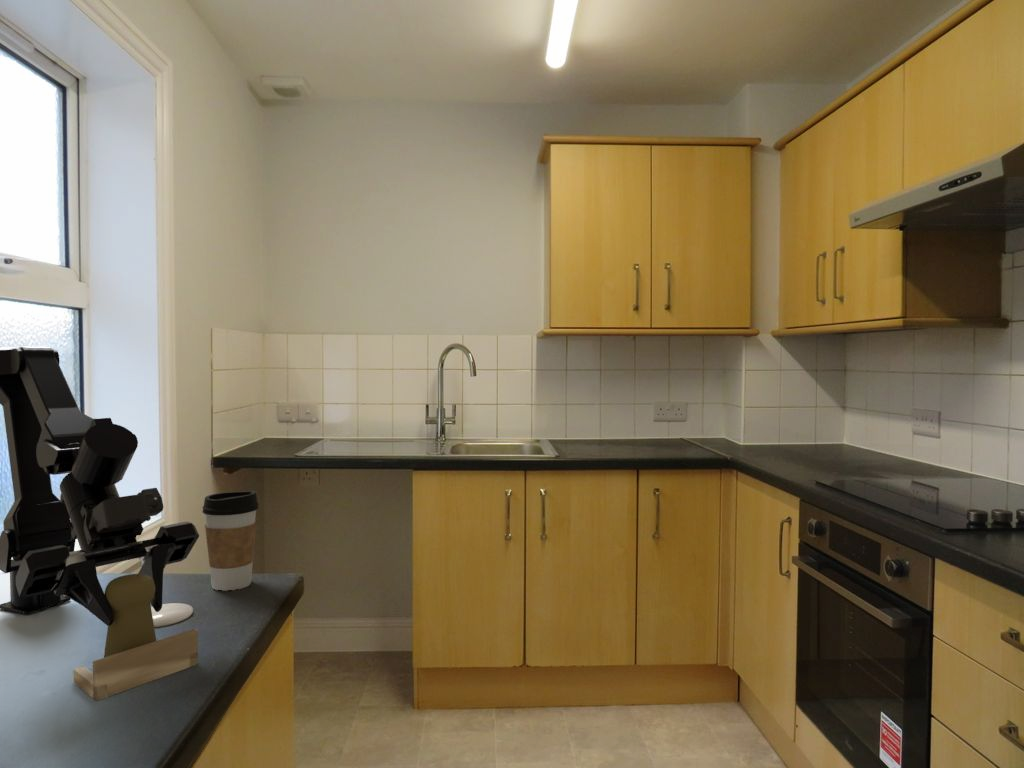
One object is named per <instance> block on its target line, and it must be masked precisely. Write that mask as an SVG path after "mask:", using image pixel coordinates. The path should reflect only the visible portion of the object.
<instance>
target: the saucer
mask: <svg viewBox="0 0 1024 768" xmlns="http://www.w3.org/2000/svg"><path fill="white" fill-rule="evenodd" d="M151 611H152V617H153V623H154V628H160V627H165V626H169V625H174V624H177V623H180V622H182V621H185V620H187V619H188V618H190V617H191V616H192V615H193V613H194V608H193V607H192V605H190V604H187V603H179V602H177V603H176V602H175V603H174V602H173V603H172V602H171V603H162V608H161V610H160V611H159V612H156V611H155V610H154V608H153V607H152V605H151Z"/></svg>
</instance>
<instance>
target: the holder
mask: <svg viewBox="0 0 1024 768" xmlns="http://www.w3.org/2000/svg"><path fill="white" fill-rule="evenodd" d="M196 665H199V630H196V629H194V628H193V629H189V630H187V631H183V632H181V633H178V634H173V635H170V636H168V637H165V638H162V639H158V640H156V641H155V642H152V643H149V644H146V645H142V646H139V647H136V648H133V649H130V650H127V651H124V652H121V653H117V654H114V655H111V656H108V657H105V658H104V657H103V658H99V659H95V660H93V661H92V671H91V670H89V669H88V668H87V667H85V666H80V667H76V668H73V684H75V685H76V686H78V687H79V688H80V689H81V690H83V692H85V693H86V694H87V695H89V696H90V697H91V698H93V699H94V700H95V701H97V702H98V701H101V700H102V699H106V698H108V697H111V696H114V695H116V694H120V693H122V692H125V691H127V690H131V689H133V688H135V687H138V686H141V685H145V684H146V683H149V682H152V681H155V680H158V679H161V678H163V677H166V676H169V675H172V674H175V673H178V672H180V671H182V670H185V669H188V668H190V667H191V668H192V667H194V666H196Z"/></svg>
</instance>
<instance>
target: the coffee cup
mask: <svg viewBox="0 0 1024 768" xmlns="http://www.w3.org/2000/svg"><path fill="white" fill-rule="evenodd" d="M258 509H259V502H258V497H257V491H254V490H250V491H249V490H248V491H247V490H246V491H243V490H242V491H228V492H227V491H226V492H225V491H224V492H219V493H212V494H208V495H206V496H205V497H204V500H203V506H202V514H204V517H205V524H204V529H205V538H206V547H207V548H206V549H207V555H208V563H209V572H210V581H211V588H212V589H213V590H214V589H215V591H218V590H222V591H221V592H228V590H232V591H236V589H238V590H240V589H244V588H247V587H248V586H250V585H251V584H252V576H253V575H252V573H253V561H254V554H255V553H254V552H255V543H256V533H257V530H256V529H257V520H256V518H257V517H256V515H257V514H256V513H257V510H258Z"/></svg>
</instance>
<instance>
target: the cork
mask: <svg viewBox="0 0 1024 768" xmlns="http://www.w3.org/2000/svg"><path fill="white" fill-rule="evenodd" d="M104 594H105V596H106V599H107V601H108V603H109V606H110V608H111V611H112V615H113V619H114V621H113V623H112V625H110V626H107V632H106V639H105V647H104V653H103V658H105V657H108V656H111V655H114V654H117V653H121V652H124V651H127V650H130V649H133V648H136V647H139V646H142V645H146V644H149V643H152V642H155V641H157V636H156V630H155V627H154V623H153V617H152V611H151V606H152V605H151V603H150V601H151V600H152V598H153V597H154V594H155V584H154V580H153V579H152V578H151V577H150V576H148V575H145V574H138V573H131V574H130V573H129V574H125V575H122V576H118V577H115V578H112V580H110V581H108V583H107V585H106V586H105V590H104Z"/></svg>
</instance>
